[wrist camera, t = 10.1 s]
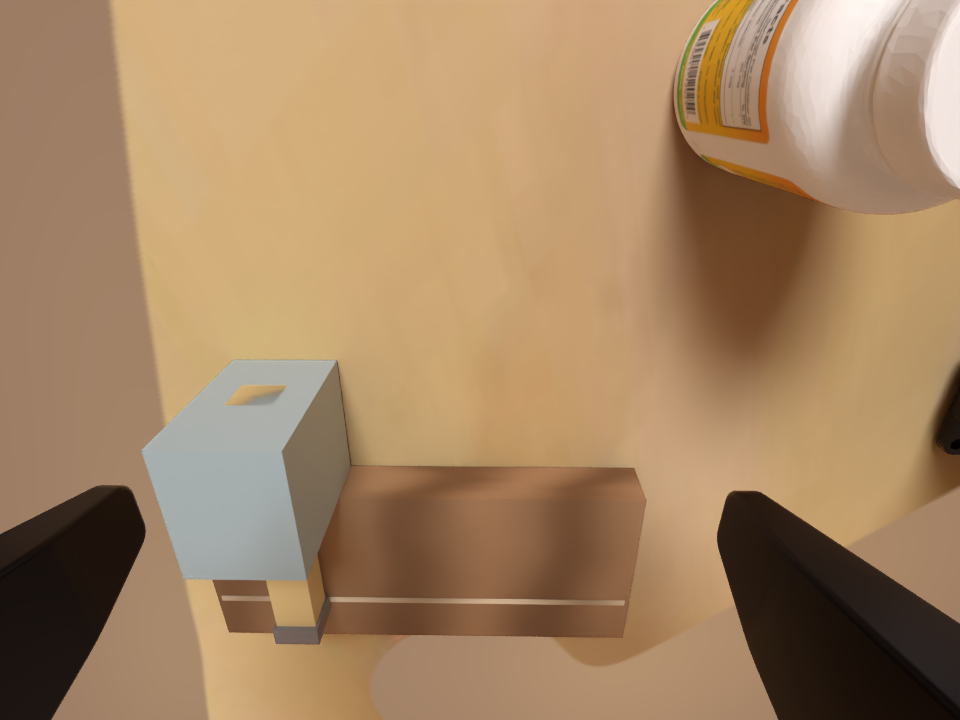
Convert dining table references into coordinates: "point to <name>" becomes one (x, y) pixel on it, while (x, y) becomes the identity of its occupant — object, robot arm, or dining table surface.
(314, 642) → the light blue block
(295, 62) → the dining table surface
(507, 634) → the board
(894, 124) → the supplement bottle
